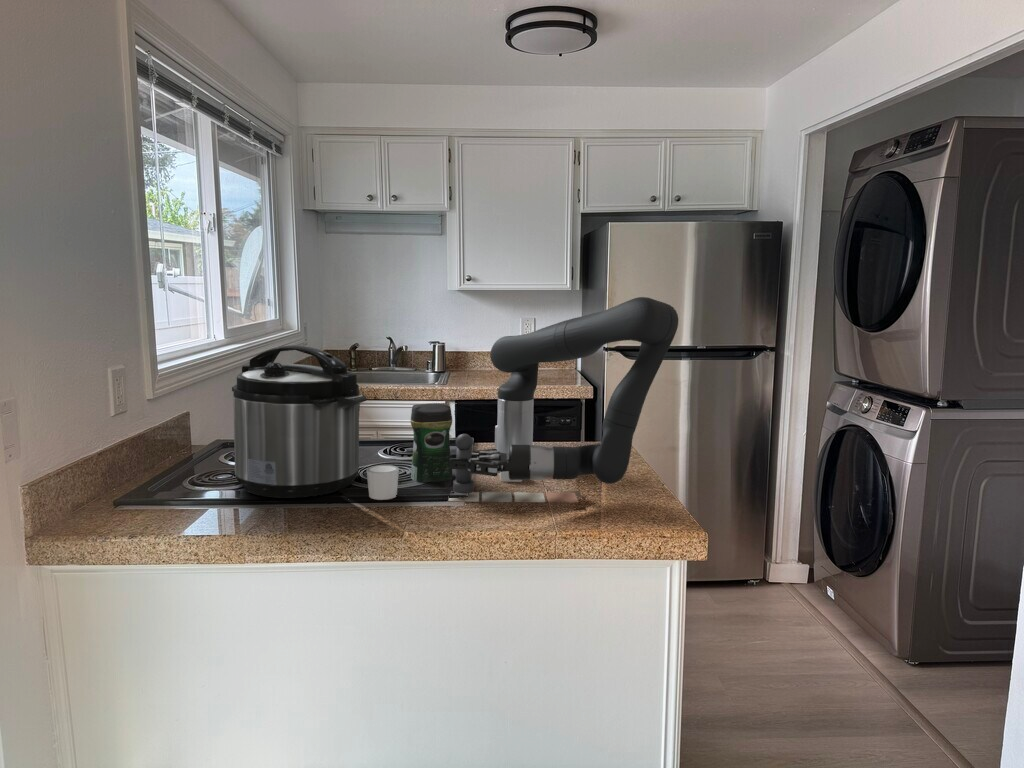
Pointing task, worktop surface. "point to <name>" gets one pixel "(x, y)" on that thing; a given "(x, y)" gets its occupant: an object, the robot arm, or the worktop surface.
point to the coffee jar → (431, 442)
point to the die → (506, 477)
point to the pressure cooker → (296, 425)
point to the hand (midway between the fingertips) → (450, 461)
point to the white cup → (382, 481)
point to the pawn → (463, 476)
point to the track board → (522, 497)
